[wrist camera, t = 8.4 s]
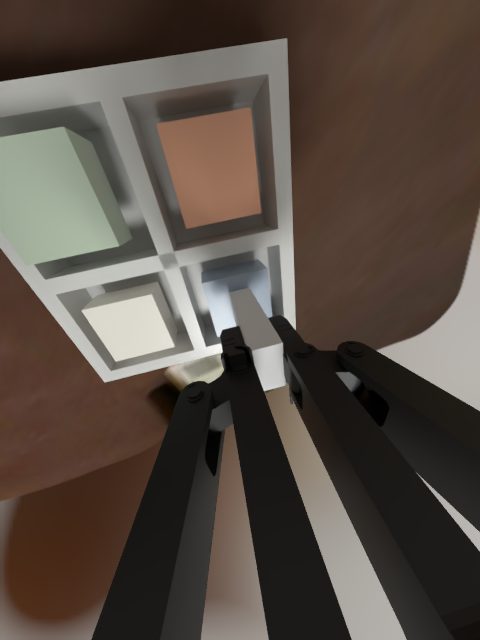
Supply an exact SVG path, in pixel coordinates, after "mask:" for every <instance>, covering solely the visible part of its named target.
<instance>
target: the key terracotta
mask: <svg viewBox="0 0 480 640" xmlns="http://www.w3.org/2000/svg"><path fill="white" fill-rule="evenodd" d="M156 126H157V129H158V133H159V136H160V140H161V143H162V147H163V150H164V153H165V157H166V160H167V164H168V167H169V171H170V174H171V178H172V181H173V185H174V188H175V192H176V195H177V199H178V202H179V205H180V209H181V212H182V216H183V219H184V223H185V226H186V229H188V228H193V227H198V226H203V225H207V224H212V223H217V222H221V221H226V220H231V219H236V218H240V217H245V216H250V215H255V214H259V213H261V204H260V194H259V184H258V174H257V164H256V155H255V145H254V135H253V125H252V115H251V107H250V108H244V109H239V110H233V111H227V112H221V113H216V114H210V115H204V116H198V117H193V118H187V119H181V120H175V121H170V122H164V123H158V124H156Z"/></svg>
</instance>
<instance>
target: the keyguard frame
mask: <svg viewBox="0 0 480 640" xmlns="http://www.w3.org/2000/svg"><path fill="white" fill-rule="evenodd" d="M250 107H251V115H252V125H253V135H254V145H255V155H256V164H257V174H258V184H259V194H260V204H261V213H259V214H255V215H250V216H245V217H240V218H236V219H231V220H226V221H221V222H217V223H212V224H207V225H203V226H198V227H193V228H188V229H186V226H185V223H184V219H183V216H182V212H181V209H180V205H179V202H178V199H177V195H176V192H175V188H174V185H173V181H172V178H171V174H170V171H169V167H168V164H167V160H166V157H165V153H164V150H163V147H162V143H161V140H160V136H159V133H158V129H157V126H156V124H158V123H164V122H170V121H175V120H181V119H187V118H193V117H198V116H204V115H210V114H216V113H221V112H227V111H233V110H239V109H244V108H250ZM58 127H65V128H67V129H69V130H71V131H73V132H74V133H76V134H78V135H80V136H81V137H83V138H85V139H87V140H89V141H90V142H92V144H93V147H94V149H95V151H96V154H97V156H98V158H99V161H100V163H101V165H102V168H103V170H104V172H105V175H106V177H107V179H108V182H109V184H110V186H111V189H112V191H113V193H114V196H115V198H116V200H117V203H118V205H119V207H120V210H121V212H122V214H123V217H124V219H125V221H126V224H127V226H128V228H129V231H130V233H131V235H132V238H133V239H131V240H129V241H128V242H126V243H124V244H122V245H121V246H118V247H113V248H108V249H104V250H99V251H94V252H90V253H85V254H80V255H75V256H71V257H66V258H61V259H57V260H52V261H47V262H42V263H38V264H33V265H28V266H27V265H26V264H25V263H24V261H23V260H22V259H21V257H20V256H19V255H18V253H17V252H16V251H15V249H14V248H13V247H12V245H11V244H10V243H9V241H8V240H7V239H6V237H5V236H4V234H3V233H2V232H1V230H0V248H1V249H2V251H3V252H4V253H5V255H6V256H7V257H8V258H9V260H10V261H11V262H12V264H13V265H14V266H15V267H16V269H17V270H18V271H19V273H20V274H21V275H22V276H23V278H24V279H25V280H26V282H27V283H28V284H29V285H30V287H31V288H32V289H33V291H34V292H35V293H36V295H37V296H38V297H39V298H40V300H41V301H42V302H43V304H44V305H45V306H46V307H47V309H48V310H49V311H50V313H51V314H52V315H53V316H54V318H55V319H56V320H57V322H58V323H59V324H60V325H61V327H62V328H63V329H64V331H65V332H66V333H67V334H68V336H69V337H70V338H71V340H72V341H73V342H74V344H75V345H76V346H77V347H78V349H79V350H80V351H81V353H82V354H83V355H84V356H85V358H86V359H87V360H88V362H89V363H90V364H91V365H92V367H93V368H94V369H95V371H96V372H97V373H98V374H99V376H100V377H101V378H102V380H103V381H104V382H109V381H112V380H116V379H120V378H124V377H128V376H132V375H136V374H140V373H144V372H148V371H151V370H155V369H159V368H163V367H167V366H171V365H175V364H179V363H183V362H187V361H191V360H194V359H198V358H202V357H206V356H210V355H214V354H218V353H222V352H223V351H222V345H221V339H220V337H217V334H216V331H215V327H214V324H213V320H212V317H211V313H210V310H209V306H208V303H207V300H206V296H205V293H204V289H203V286H202V278H201V272H204V271H209V270H213V269H218V268H222V267H226V266H231V265H235V264H240V263H244V262H248V261H253V260H257V259H258V260H259V261H260V262H262V263H263V264H264V265H265V266H266V267H267V268H268V278H269V288H270V298H271V308H272V317H274V316H278V315H281V316H283V317H285V318H287V320H288V321H289V322H290V324H291V325H292V326H293V328H294V329H295V330H296V321H295V287H294V253H293V219H292V185H291V151H290V117H289V83H288V49H287V38H285V39H278V40H272V41H265V42H258V43H252V44H245V45H239V46H232V47H226V48H219V49H212V50H206V51H199V52H193V53H186V54H179V55H173V56H166V57H160V58H153V59H147V60H140V61H133V62H127V63H120V64H114V65H107V66H100V67H94V68H87V69H81V70H74V71H68V72H61V73H54V74H48V75H41V76H35V77H28V78H22V79H15V80H8V81H2V82H0V137H5V136H11V135H16V134H22V133H28V132H34V131H40V130H46V129H52V128H58ZM154 282H158V283H159V286H160V288H161V291H162V293H163V295H164V298H165V300H166V303H167V305H168V308H169V310H170V313H171V315H172V317H173V320H174V322H175V325H176V327H177V337H176V344H175V347H173V348H169V349H165V350H161V351H157V352H153V353H149V354H145V355H141V356H137V357H133V358H129V359H125V360H121V361H117V362H116V361H115V360H114V358H113V357H112V355H111V354H110V352H109V351H108V349H107V348H106V346H105V345H104V343H103V342H102V341H101V339H100V338H99V336H98V335H97V333H96V332H95V330H94V329H93V327H92V326H91V324H90V323H89V321H88V320H87V318H86V317H85V315H84V314H83V313H82V311H81V310H82V309H83V308H84V307H85V306H86V305H87V304H88V303H90V302H91V301H92V300H93V299H94V298H95V297H96V296H97V295H101V294H105V293H109V292H114V291H118V290H123V289H127V288H132V287H136V286H140V285H145V284H149V283H154Z"/></svg>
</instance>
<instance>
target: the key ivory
mask: <svg viewBox="0 0 480 640" xmlns="http://www.w3.org/2000/svg"><path fill="white" fill-rule="evenodd" d="M81 311H82V313H83V314H84V315H85V317H86V318H87V320H88V321H89V323H90V324H91V326H92V327H93V329H94V330H95V332H96V333H97V335H98V336H99V338H100V339H101V341H102V342H103V343H104V345H105V346H106V348H107V349H108V351H109V352H110V354H111V355H112V357H113V358H114V360H115V361H116V362H117V361H121V360H125V359H129V358H133V357H137V356H141V355H145V354H149V353H153V352H157V351H161V350H165V349H169V348H173V347H175V344H176V337H177V327H176V325H175V322H174V320H173V317H172V315H171V313H170V310H169V308H168V305H167V303H166V300H165V298H164V295H163V293H162V291H161V288H160V286H159V283H158V282H154V283H149V284H145V285H140V286H136V287H132V288H127V289H123V290H118V291H114V292H109V293H105V294H101V295H97V296H96V297H95V298H94V299H93V300H92V301H91V302H90V303H88V304H87V305H86V306H85V307H84V308H83V309H82V310H81Z"/></svg>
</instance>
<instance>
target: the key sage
mask: <svg viewBox="0 0 480 640" xmlns="http://www.w3.org/2000/svg"><path fill="white" fill-rule="evenodd" d="M0 230H1V232H2V233H3V234H4V236H5V237H6V239H7V240H8V241H9V243H10V244H11V245H12V247H13V248H14V249H15V251H16V252H17V253H18V255H19V256H20V257H21V259H22V260H23V261H24V263H25V264H26V265H27V266H28V265H33V264H38V263H42V262H47V261H52V260H57V259H61V258H66V257H71V256H75V255H80V254H85V253H90V252H94V251H99V250H104V249H108V248H113V247H118V246H121V245H122V244H124V243H126V242H128V241H129V240H131V239H133V238H132V235H131V233H130V231H129V228H128V226H127V224H126V221H125V219H124V217H123V214H122V212H121V210H120V207H119V205H118V203H117V200H116V198H115V196H114V193H113V191H112V189H111V186H110V184H109V182H108V179H107V177H106V175H105V172H104V170H103V168H102V165H101V163H100V161H99V158H98V156H97V154H96V151H95V149H94V147H93V144H92V142H90V141H89V140H87V139H85V138H83V137H81V136H80V135H78V134H76V133H74V132H73V131H71V130H69V129H67V128H65V127H58V128H52V129H46V130H40V131H34V132H28V133H22V134H16V135H11V136H5V137H0Z"/></svg>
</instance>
